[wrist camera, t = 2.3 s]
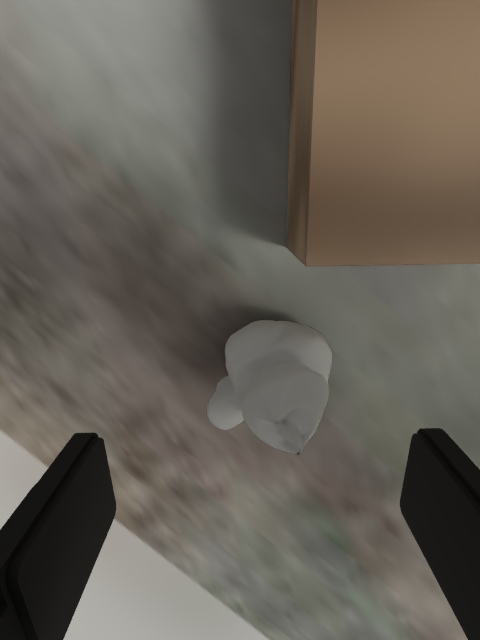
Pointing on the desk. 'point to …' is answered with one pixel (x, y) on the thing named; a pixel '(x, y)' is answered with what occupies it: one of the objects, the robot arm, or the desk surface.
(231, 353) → the grey lumpy piece
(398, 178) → the walnut block
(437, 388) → the desk surface
